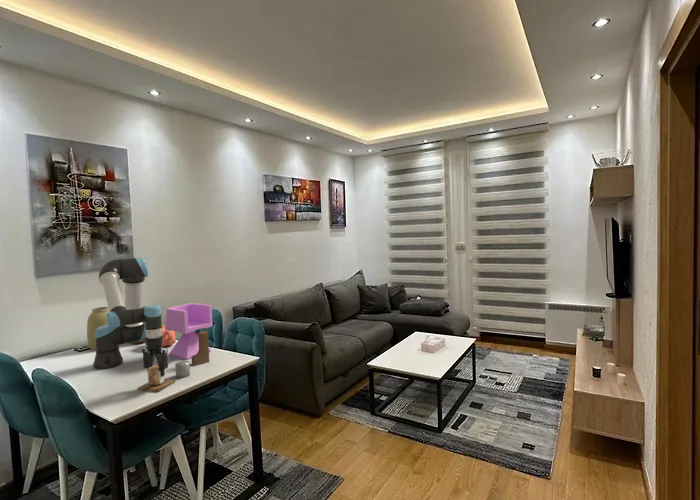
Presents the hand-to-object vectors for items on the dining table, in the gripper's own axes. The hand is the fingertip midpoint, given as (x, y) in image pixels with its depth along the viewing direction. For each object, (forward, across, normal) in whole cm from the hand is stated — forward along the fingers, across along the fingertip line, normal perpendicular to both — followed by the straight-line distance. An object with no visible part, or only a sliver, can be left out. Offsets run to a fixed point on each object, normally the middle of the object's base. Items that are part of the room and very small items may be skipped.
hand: (156, 382), depth 199 cm
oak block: (0, 0, 0) cm, 0 cm away
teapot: (+2, -46, +60) cm, 76 cm away
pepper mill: (+2, -67, +67) cm, 95 cm away
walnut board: (+2, 0, 0) cm, 2 cm away
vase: (+2, -85, +50) cm, 99 cm away
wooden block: (+2, +1, +35) cm, 35 cm away
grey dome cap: (+2, +4, +15) cm, 16 cm away
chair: (+2, -16, +49) cm, 52 cm away
